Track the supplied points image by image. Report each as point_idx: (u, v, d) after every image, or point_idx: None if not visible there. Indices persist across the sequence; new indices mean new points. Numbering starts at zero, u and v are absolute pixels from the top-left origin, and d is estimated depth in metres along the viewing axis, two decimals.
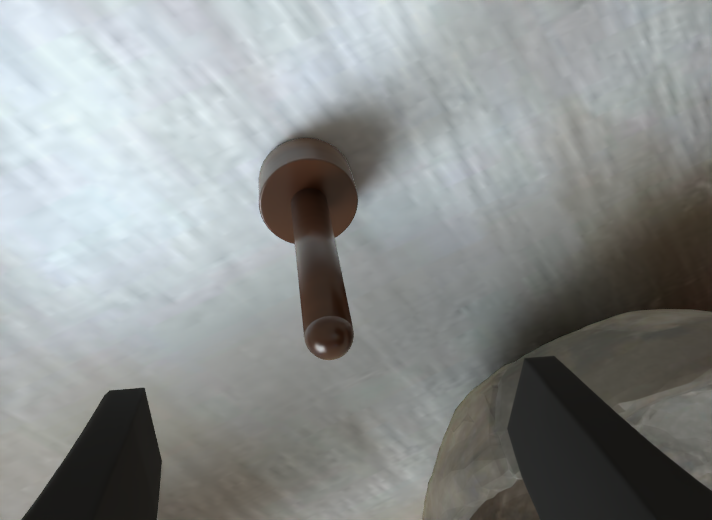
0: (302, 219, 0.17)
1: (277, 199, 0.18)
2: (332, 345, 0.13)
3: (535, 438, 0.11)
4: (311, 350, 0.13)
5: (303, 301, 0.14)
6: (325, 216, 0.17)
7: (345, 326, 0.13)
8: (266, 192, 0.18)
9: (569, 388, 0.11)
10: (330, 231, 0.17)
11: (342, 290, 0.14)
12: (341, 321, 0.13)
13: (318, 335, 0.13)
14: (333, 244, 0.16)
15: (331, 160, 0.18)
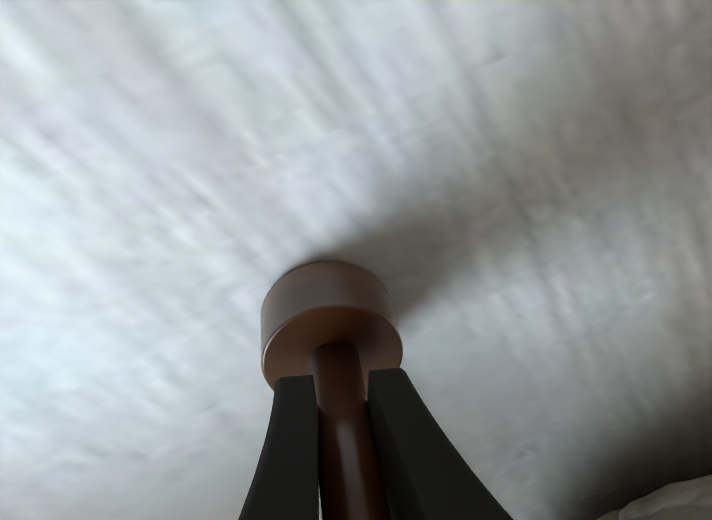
0: (326, 406, 0.11)
1: (287, 357, 0.13)
2: None
3: None
4: None
5: None
6: (360, 398, 0.11)
7: None
8: (272, 349, 0.12)
9: (399, 402, 0.10)
10: (369, 430, 0.11)
11: None
12: None
13: None
14: (375, 460, 0.10)
15: (366, 303, 0.12)
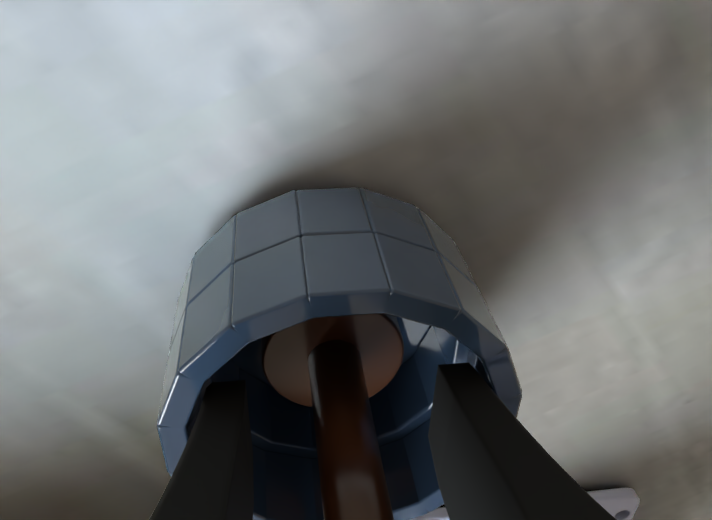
0: (327, 404, 0.11)
1: (288, 355, 0.12)
2: None
3: (447, 446, 0.11)
4: None
5: None
6: (361, 396, 0.11)
7: None
8: (272, 347, 0.12)
9: (475, 396, 0.10)
10: (371, 428, 0.11)
11: None
12: None
13: None
14: (377, 458, 0.10)
15: None
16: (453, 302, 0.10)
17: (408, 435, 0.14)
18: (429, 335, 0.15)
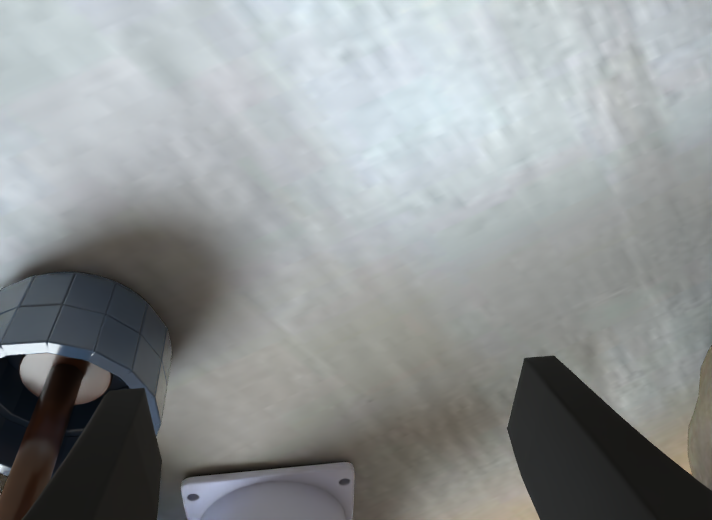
0: (39, 402, 0.19)
1: (35, 373, 0.21)
2: None
3: (535, 438, 0.11)
4: None
5: None
6: (62, 397, 0.20)
7: None
8: (23, 368, 0.21)
9: (569, 388, 0.11)
10: (59, 416, 0.19)
11: (35, 489, 0.17)
12: None
13: None
14: (54, 432, 0.19)
15: None
16: (89, 346, 0.18)
17: None
18: None
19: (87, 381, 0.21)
